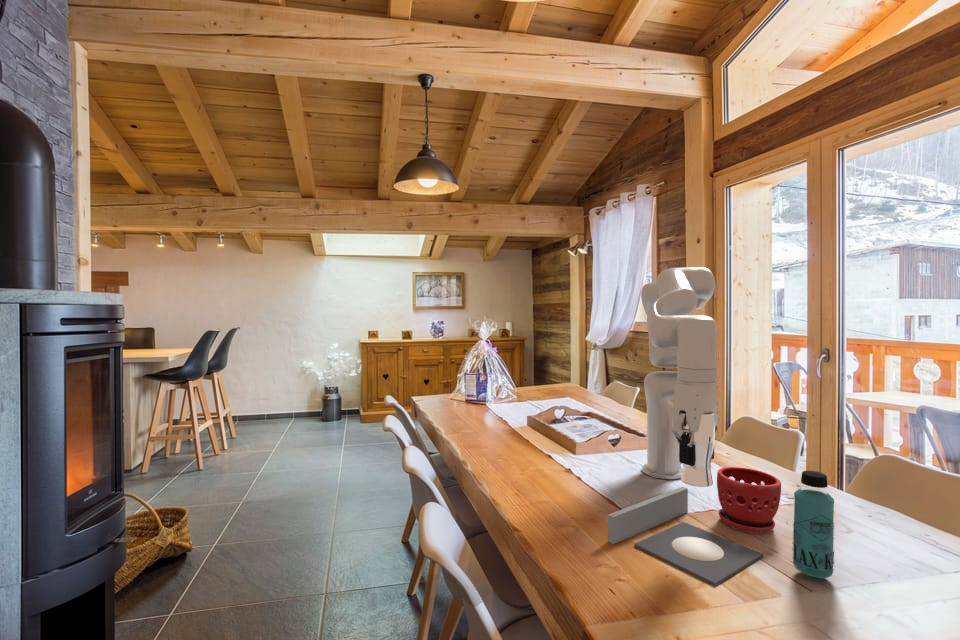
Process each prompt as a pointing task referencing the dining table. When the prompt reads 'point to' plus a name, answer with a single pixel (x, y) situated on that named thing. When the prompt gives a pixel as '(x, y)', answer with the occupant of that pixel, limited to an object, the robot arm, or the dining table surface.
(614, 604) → the dining table surface
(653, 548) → the dark gray mat
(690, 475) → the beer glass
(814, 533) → the beverage bottle
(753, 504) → the plant pot
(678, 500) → the low wall
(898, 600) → the dining table surface
